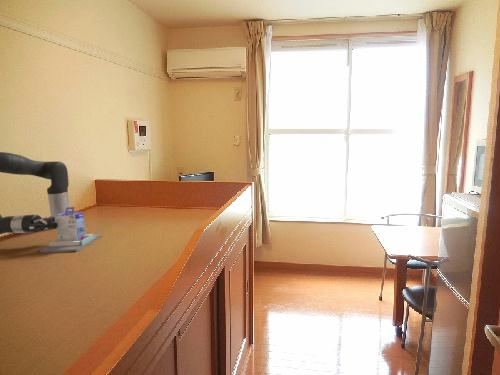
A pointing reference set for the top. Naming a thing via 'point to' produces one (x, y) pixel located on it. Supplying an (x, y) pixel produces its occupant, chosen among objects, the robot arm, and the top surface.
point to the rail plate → (70, 244)
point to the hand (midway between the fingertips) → (63, 222)
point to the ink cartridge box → (70, 226)
